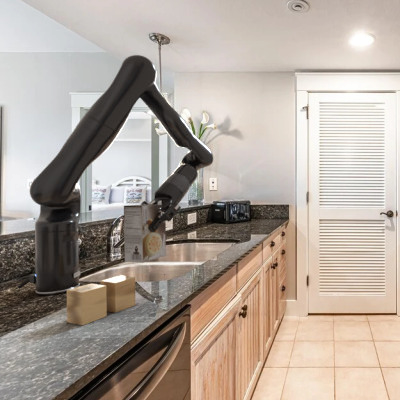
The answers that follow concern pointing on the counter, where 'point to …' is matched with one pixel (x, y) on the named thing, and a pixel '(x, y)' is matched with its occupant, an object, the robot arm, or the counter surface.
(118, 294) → the maple block middle
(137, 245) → the printed cardboard box
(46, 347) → the counter surface
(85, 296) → the maple block near
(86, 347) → the counter surface
